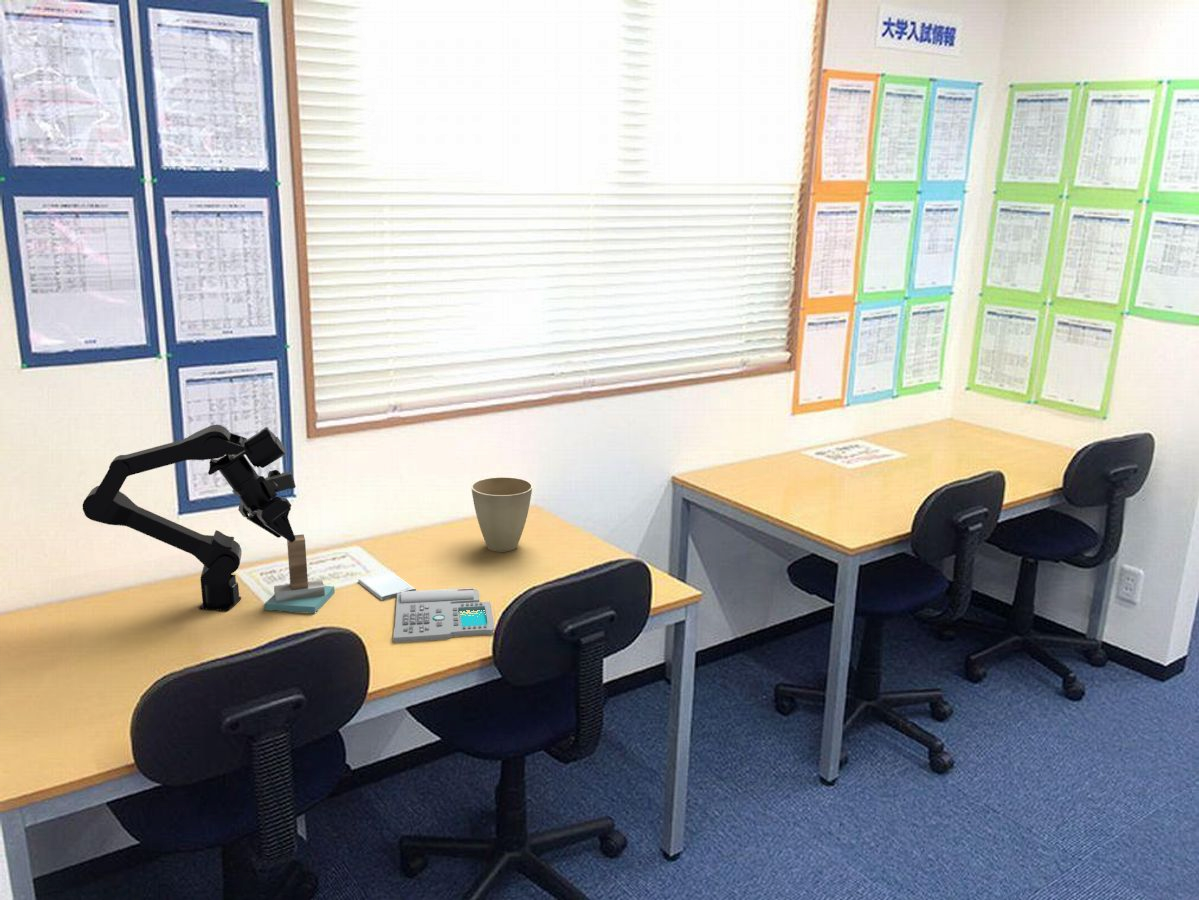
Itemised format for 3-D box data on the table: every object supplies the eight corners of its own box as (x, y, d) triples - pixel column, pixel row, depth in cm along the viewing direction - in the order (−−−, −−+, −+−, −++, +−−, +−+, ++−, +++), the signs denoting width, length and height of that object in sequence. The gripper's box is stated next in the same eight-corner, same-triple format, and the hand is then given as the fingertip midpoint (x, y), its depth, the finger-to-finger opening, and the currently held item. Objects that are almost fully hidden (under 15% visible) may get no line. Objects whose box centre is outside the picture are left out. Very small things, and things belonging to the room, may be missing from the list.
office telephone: (396, 586, 217) (488, 581, 220) (396, 597, 218) (488, 592, 221) (392, 631, 195) (495, 625, 198) (393, 643, 195) (495, 637, 199)
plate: (264, 610, 209) (264, 603, 208) (286, 589, 219) (285, 583, 219) (315, 613, 208) (314, 607, 207) (334, 592, 218) (334, 586, 218)
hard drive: (416, 588, 219) (391, 570, 229) (381, 596, 214) (357, 578, 224) (416, 595, 220) (391, 577, 229) (381, 604, 215) (358, 585, 224)
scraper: (324, 595, 213) (321, 538, 210) (275, 601, 209) (271, 543, 206) (322, 588, 217) (319, 532, 213) (274, 594, 213) (270, 537, 210)
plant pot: (459, 549, 245) (458, 487, 241) (498, 532, 257) (497, 473, 253) (507, 562, 237) (506, 498, 233) (544, 544, 249) (544, 483, 245)
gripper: (289, 458, 202) (332, 519, 207) (263, 455, 217) (304, 512, 222) (243, 491, 197) (288, 552, 202) (219, 485, 212) (262, 543, 217)
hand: (286, 538), depth 211 cm, fingers open, 9 cm apart
